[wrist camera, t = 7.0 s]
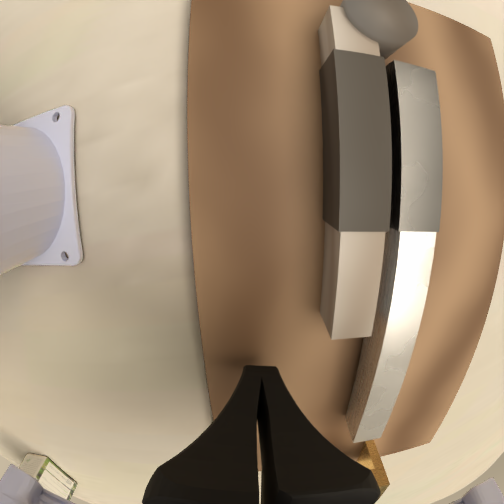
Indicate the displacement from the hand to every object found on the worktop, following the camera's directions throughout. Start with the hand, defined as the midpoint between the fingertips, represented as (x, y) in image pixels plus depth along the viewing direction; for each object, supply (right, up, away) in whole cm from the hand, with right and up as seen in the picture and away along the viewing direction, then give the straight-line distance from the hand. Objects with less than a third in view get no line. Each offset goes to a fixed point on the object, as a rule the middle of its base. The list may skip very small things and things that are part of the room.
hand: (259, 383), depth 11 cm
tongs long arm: (+6, +4, 0) cm, 7 cm away
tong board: (+5, +4, +2) cm, 7 cm away
